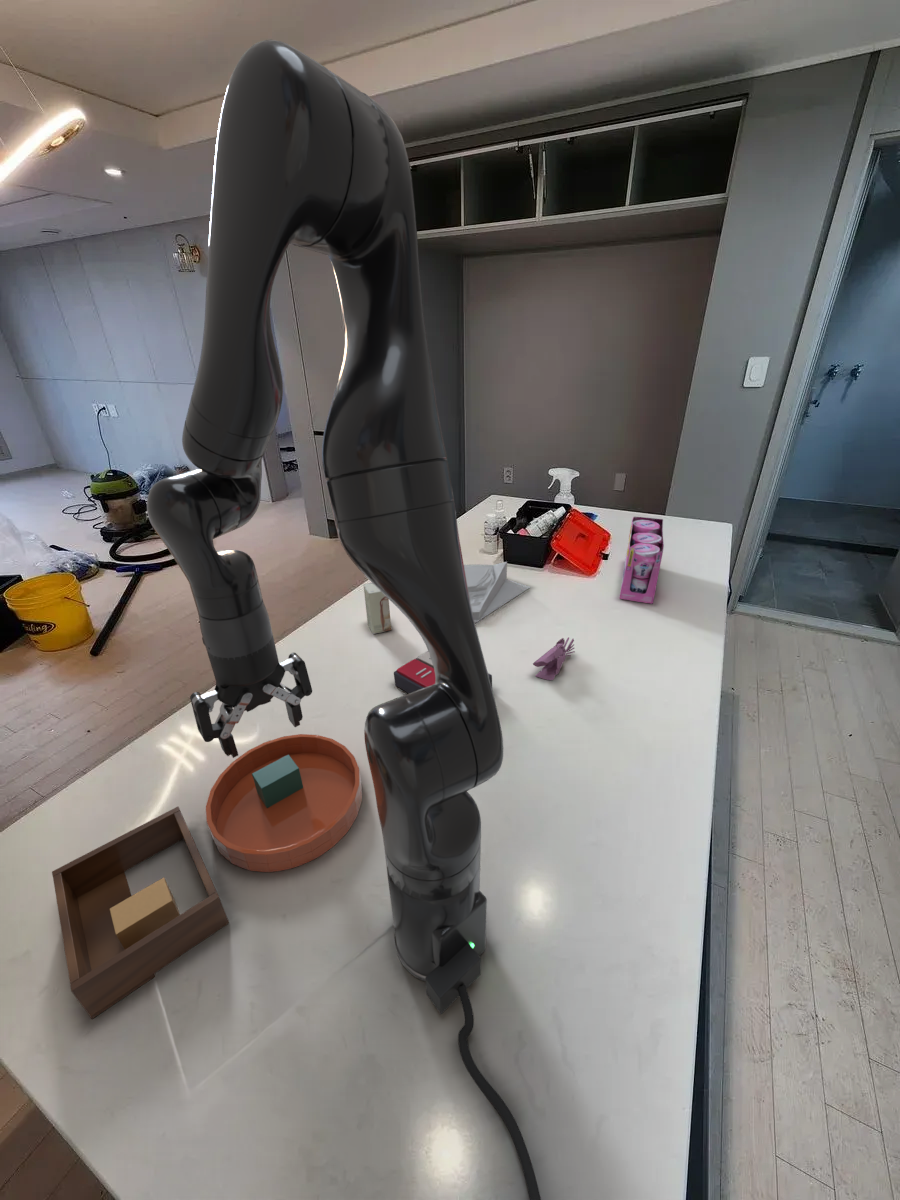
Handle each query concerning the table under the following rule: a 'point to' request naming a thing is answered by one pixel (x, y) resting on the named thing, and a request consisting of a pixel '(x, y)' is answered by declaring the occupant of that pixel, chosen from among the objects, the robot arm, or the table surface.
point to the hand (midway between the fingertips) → (265, 737)
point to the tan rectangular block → (143, 913)
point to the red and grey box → (417, 674)
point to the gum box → (642, 560)
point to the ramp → (490, 588)
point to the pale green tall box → (377, 609)
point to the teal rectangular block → (277, 780)
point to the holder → (100, 885)
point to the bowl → (285, 805)
